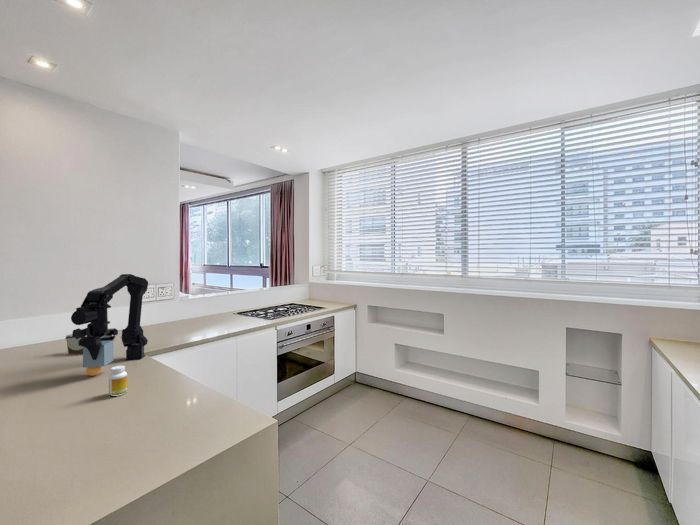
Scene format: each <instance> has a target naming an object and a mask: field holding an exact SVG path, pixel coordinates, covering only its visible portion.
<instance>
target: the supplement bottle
mask: <svg viewBox="0 0 700 525" xmlns="http://www.w3.org/2000/svg"><path fill="white" fill-rule="evenodd" d="M127 390H128V372H127V371H126V366H125V365H116V366H113V367H111V368H110V374H109V375H108V396H109V395H119V394H122V393H125V392H127V393H128V391H127Z"/></svg>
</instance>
